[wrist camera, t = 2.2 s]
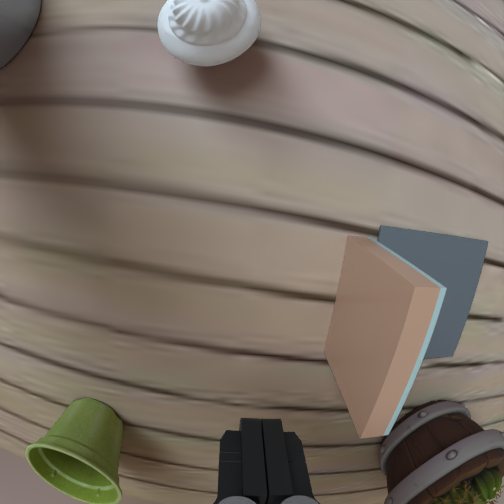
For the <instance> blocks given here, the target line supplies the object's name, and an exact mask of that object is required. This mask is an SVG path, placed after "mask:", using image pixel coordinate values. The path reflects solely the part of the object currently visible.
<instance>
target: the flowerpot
mask: <svg viewBox="0 0 504 504" xmlns="http://www.w3.org/2000/svg"><path fill="white" fill-rule="evenodd" d="M379 460H380V468H381V470H382V472H383V473H384V474H385V475H387V487H388V496H387V497H386V499H385V502H384V504H486V503H488V502H489V503H490V504H494V503H493V502H492V501H494V500H493V498H495V496H496V495H497V494H498V493H499V490H501V484H502V477H503V476H504V432H501V431H498V430H495V429H491V430H484V429H482V428H481V427H480V426H479V425H478V424H477V423H475V422H474V421H473V420H471V415H470V412H469V410H468V409H466V408H465V405H464V404H463V403H461V404H459V403H457V402H454V401H446V400H438V401H437V402H435V401H431V402H429V403H426V404H424V405H421V406H419V407H417V408H416V409H414V410H413V411H411V412H410V413H408V414H407V415H405V416H404V417H403V418H402V419H401V420H400V423H395V424H394V425H393V427H392V429H391V431H390V433H389V435H385V436H384V438H383V441H382V446H381V448H380V452H379ZM502 487H503V486H502ZM500 494H501V491H500ZM498 496H499V495H498ZM499 497H500V496H499ZM496 498H497V497H496ZM494 502H495V501H494Z"/></svg>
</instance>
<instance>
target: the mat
mask: <svg viewBox="0 0 504 504" xmlns="http://www.w3.org/2000/svg"><path fill="white" fill-rule="evenodd" d="M378 242H379V243H381V244H382V245H384V246H386V247H387V248H389V249H390V250H392V251H393V252H395V253H396V254H398V255H399V256H401V257H402V258H404V259H405V260H407V261H408V262H410V263H411V264H413V265H414V266H416V267H417V268H419V269H420V270H421V271H423V272H424V273H426V274H427V275H429V276H430V277H432V278H433V279H434V280H436V281H437V282H439V283H440V284H442V285H443V286H444V287H446V288H447V289H446V293H445V296H444V299H443V303H442V306H441V309H440V312H439V315H438V319H437V322H436V325H435V328H434V330H433V333H432V336H431V339H430V342H429V345H428V347H427V350H426V353H425V355H424V358H423V359H428V358H438V357H448V356H453V354H454V351H455V349H456V346H457V344H458V341H459V339H460V336H461V333H462V330H463V328H464V325H465V322H466V319H467V316H468V313H469V310H470V307H471V304H472V301H473V298H474V295H475V291H476V288H477V284H478V281H479V277H480V274H481V270H482V266H483V262H484V258H485V254H486V250H487V245H488V241H483V240H477V239H471V238H465V237H458V236H452V235H445V234H438V233H431V232H424V231H417V230H410V229H402V228H395V227H387V226H380V230H379V236H378Z"/></svg>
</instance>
